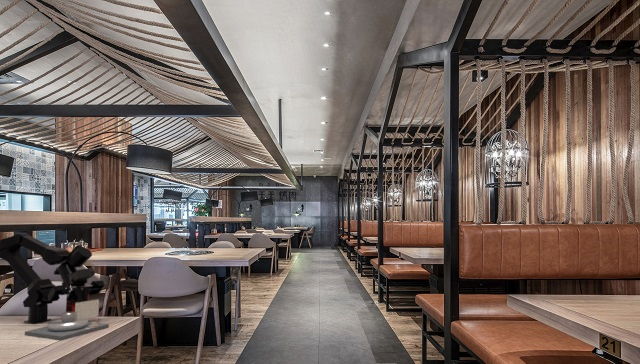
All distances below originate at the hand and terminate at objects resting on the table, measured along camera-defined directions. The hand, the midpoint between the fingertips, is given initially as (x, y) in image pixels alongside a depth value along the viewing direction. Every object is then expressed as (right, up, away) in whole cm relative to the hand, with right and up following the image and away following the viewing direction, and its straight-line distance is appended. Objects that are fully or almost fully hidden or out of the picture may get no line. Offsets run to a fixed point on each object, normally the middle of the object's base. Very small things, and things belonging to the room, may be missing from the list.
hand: (86, 307), depth 154 cm
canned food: (-13, -9, +17) cm, 23 cm away
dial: (-1, -5, -5) cm, 7 cm away
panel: (-3, -6, -7) cm, 9 cm away
